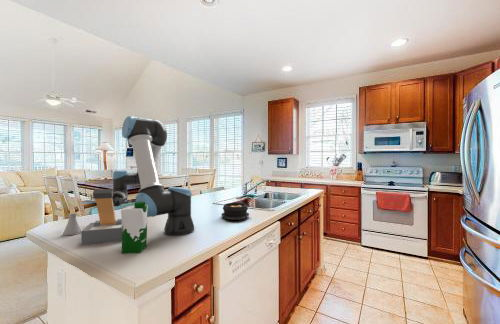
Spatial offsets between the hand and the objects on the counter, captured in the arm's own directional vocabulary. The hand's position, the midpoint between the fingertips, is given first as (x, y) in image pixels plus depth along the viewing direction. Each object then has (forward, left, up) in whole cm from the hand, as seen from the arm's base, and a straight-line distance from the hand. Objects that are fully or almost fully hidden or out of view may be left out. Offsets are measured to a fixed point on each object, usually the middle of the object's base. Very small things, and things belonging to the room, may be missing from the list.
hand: (107, 206), depth 108 cm
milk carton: (-23, +7, -15) cm, 29 cm away
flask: (+23, +1, -15) cm, 28 cm away
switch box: (+1, -1, -15) cm, 15 cm away
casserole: (-42, -58, -15) cm, 74 cm away
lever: (+1, -1, -9) cm, 9 cm away
